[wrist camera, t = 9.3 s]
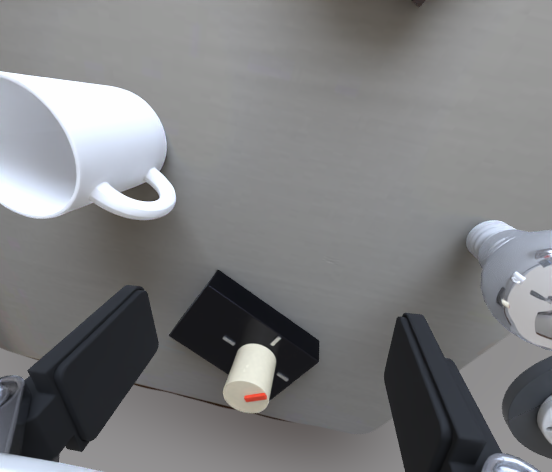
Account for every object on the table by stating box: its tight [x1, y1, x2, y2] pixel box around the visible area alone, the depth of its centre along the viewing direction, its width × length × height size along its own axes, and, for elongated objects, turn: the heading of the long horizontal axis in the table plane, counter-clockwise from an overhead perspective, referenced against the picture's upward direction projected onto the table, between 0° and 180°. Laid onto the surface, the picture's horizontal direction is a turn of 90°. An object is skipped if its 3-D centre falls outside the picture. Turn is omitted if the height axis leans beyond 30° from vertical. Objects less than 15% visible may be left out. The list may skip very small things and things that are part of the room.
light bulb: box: [466, 220, 552, 351], centre depth 18 cm, size 7×7×12 cm
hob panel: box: [169, 270, 319, 401], centre depth 31 cm, size 14×9×3 cm, turn 54°
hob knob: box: [223, 344, 276, 413], centre depth 28 cm, size 4×4×5 cm
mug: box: [0, 72, 176, 220], centre depth 21 cm, size 12×8×10 cm
